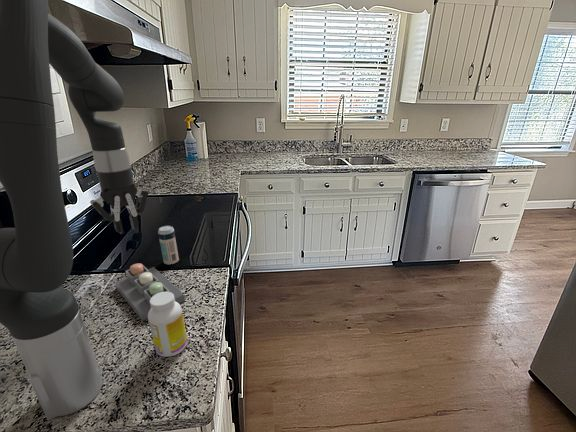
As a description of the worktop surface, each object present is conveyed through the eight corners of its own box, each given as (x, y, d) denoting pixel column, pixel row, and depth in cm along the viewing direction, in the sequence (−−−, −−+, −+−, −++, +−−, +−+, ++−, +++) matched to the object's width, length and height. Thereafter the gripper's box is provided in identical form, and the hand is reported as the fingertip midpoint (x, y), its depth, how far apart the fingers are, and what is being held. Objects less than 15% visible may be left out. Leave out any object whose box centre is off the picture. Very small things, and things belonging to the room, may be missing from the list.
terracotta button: (134, 279, 86) (132, 270, 85) (130, 274, 89) (128, 266, 87) (146, 274, 88) (144, 266, 87) (141, 270, 91) (139, 262, 90)
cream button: (143, 289, 82) (141, 280, 81) (139, 284, 84) (137, 275, 83) (155, 284, 84) (153, 275, 83) (150, 279, 86) (149, 270, 85)
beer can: (181, 257, 103) (175, 224, 99) (176, 265, 99) (171, 231, 94) (166, 258, 103) (160, 225, 99) (161, 265, 99) (155, 231, 94)
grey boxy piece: (142, 321, 76) (139, 306, 74) (116, 287, 88) (112, 274, 86) (184, 300, 83) (182, 286, 81) (154, 272, 95) (152, 259, 94)
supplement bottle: (191, 334, 72) (183, 287, 67) (183, 357, 65) (173, 308, 60) (161, 335, 71) (151, 288, 66) (150, 359, 65) (139, 309, 60)
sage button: (153, 300, 78) (151, 291, 77) (148, 294, 80) (146, 285, 79) (166, 294, 80) (164, 285, 79) (160, 289, 82) (159, 280, 81)
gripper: (85, 175, 69) (103, 244, 76) (148, 164, 78) (159, 227, 85) (76, 169, 74) (94, 234, 81) (137, 160, 83) (148, 219, 90)
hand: (128, 230), depth 83 cm, fingers open, 3 cm apart
